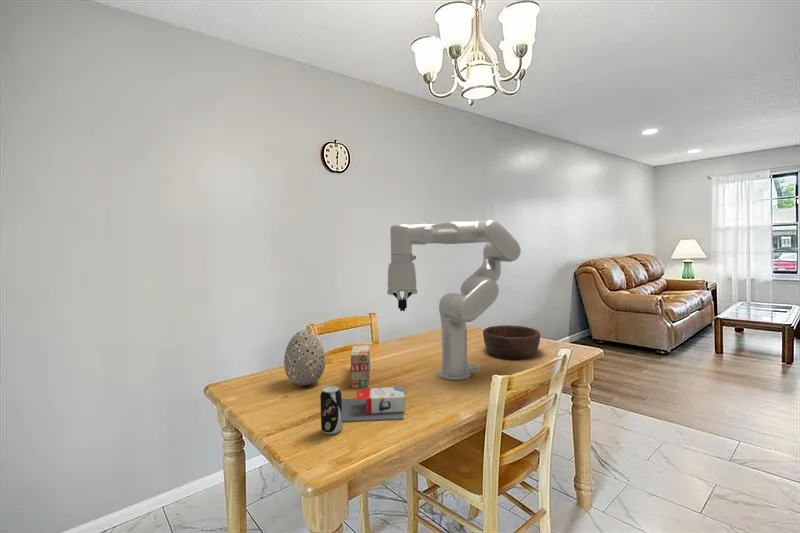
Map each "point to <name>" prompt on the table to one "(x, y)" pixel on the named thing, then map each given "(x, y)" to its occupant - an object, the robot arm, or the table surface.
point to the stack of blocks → (360, 366)
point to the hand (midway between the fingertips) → (402, 310)
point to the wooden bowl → (511, 341)
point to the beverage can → (331, 410)
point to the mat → (364, 412)
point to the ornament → (304, 358)
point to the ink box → (383, 399)
